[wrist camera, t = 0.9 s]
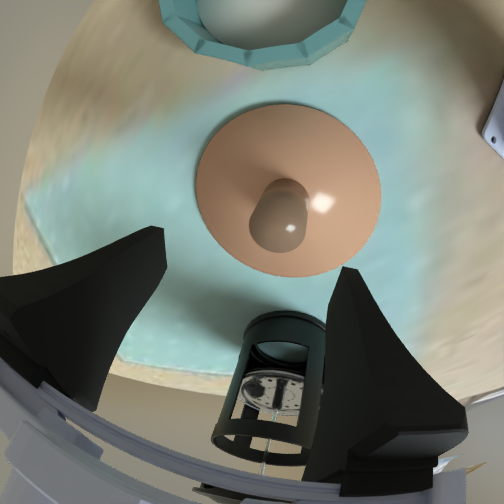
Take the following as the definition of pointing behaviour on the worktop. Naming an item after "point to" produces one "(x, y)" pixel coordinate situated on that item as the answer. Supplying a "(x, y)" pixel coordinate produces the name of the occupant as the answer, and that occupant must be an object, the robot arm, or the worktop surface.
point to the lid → (288, 190)
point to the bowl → (262, 29)
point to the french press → (272, 397)
